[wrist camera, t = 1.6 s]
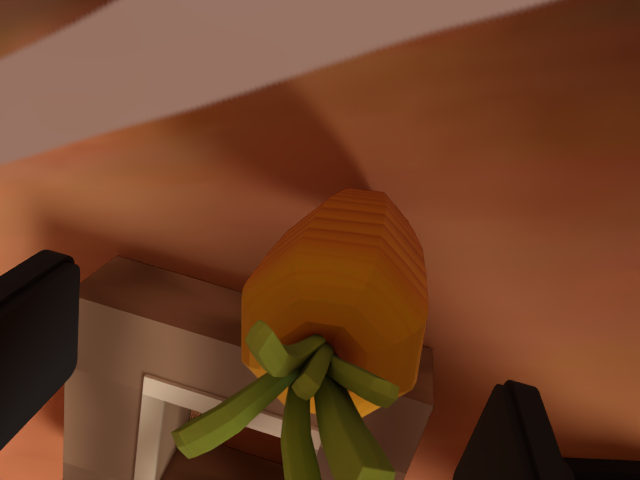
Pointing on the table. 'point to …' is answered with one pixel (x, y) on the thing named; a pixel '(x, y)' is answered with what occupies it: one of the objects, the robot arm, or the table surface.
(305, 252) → the carrot
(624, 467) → the chess piece
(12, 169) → the table surface
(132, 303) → the seat block
